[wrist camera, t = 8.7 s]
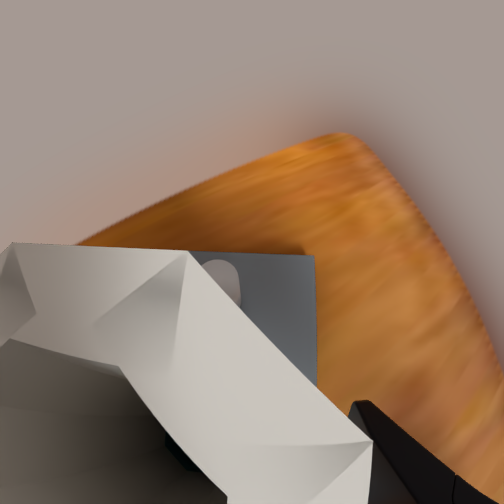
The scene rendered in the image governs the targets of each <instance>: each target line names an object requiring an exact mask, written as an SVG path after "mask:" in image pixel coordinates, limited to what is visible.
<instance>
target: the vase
mask: <svg viewBox="0 0 504 504" xmlns="http://www.w3.org/2000/svg"><path fill="white" fill-rule="evenodd" d="M372 447H373V440H371V439H370V438H369V437H368V436H367V435H366V434H364V433H363V432H362V431H361V430H360V429H359V428H358V427H357V426H356V425H355V424H354V423H353V422H352V421H351V420H350V419H348V418H347V417H346V416H345V415H344V414H343V413H342V412H341V411H340V410H339V409H338V408H337V407H336V406H335V405H334V404H333V403H332V402H331V401H330V400H329V399H328V398H327V397H326V396H325V395H324V394H323V393H322V392H320V391H319V390H318V389H317V388H316V387H315V386H314V385H313V384H312V383H311V382H310V381H309V380H308V379H307V378H306V377H305V376H304V375H303V374H302V373H301V372H300V371H299V370H298V369H297V368H296V367H295V366H294V365H293V364H292V363H291V362H290V361H289V360H288V358H287V357H286V356H285V355H284V354H283V353H282V352H281V351H280V350H279V349H278V348H277V347H276V346H275V345H274V344H273V343H272V342H271V341H270V340H269V339H268V338H267V337H266V336H265V335H264V334H263V333H262V332H261V331H260V329H259V328H258V327H257V326H256V325H255V324H254V323H253V322H252V321H251V320H250V319H249V318H248V317H247V316H246V315H245V314H244V313H243V311H242V310H241V309H240V308H239V307H238V306H237V305H236V304H235V303H234V302H233V301H232V300H231V299H230V297H229V296H228V295H227V294H226V293H225V292H224V291H223V290H222V289H221V288H220V287H219V285H218V284H217V283H216V282H215V281H214V280H213V279H212V278H211V277H210V275H209V274H208V273H207V272H206V271H205V270H204V269H203V268H202V267H201V265H200V264H199V263H198V262H197V261H196V260H195V259H194V258H193V256H192V255H191V254H190V253H189V252H188V251H182V250H160V249H139V248H117V247H96V246H74V245H53V244H32V243H12V244H10V245H9V247H7V248H6V249H5V250H4V251H3V252H2V253H1V254H0V504H368V496H369V487H370V476H371V463H372Z"/></svg>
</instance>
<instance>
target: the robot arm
mask: <svg viewBox="0 0 504 504" xmlns="http://www.w3.org/2000/svg"><path fill="white" fill-rule="evenodd" d="M348 419H350V420H351V421H352V422H353V423H354V424H355V425H356V426H357V427H358V428H359V429H360V430H361V431H362V432H363V433H364V434H366V435H367V436H368V437H369V438H370V439H371V440H373V447H372V463H371V476H370V487H369V496H368V504H499V503H497V502H495V501H493V500H492V499H490V498H489V497H487V496H486V495H484V494H482V493H481V492H479V491H478V490H477V489H475V488H474V487H473V486H471V485H470V484H469V483H467V482H466V481H465V480H463V479H462V478H461V477H460V476H458V475H455V472H453V471H452V470H451V469H450V468H448V467H447V466H446V465H445V464H444V463H442V462H441V461H440V460H439V459H438V458H436V457H435V456H434V455H433V454H431V453H430V452H429V451H428V450H427V449H425V448H424V447H423V446H422V445H421V444H420V443H418V442H417V441H416V440H415V439H414V438H412V437H411V436H410V435H409V434H408V433H407V432H405V431H404V430H403V429H402V428H401V427H400V426H398V425H397V424H396V423H395V422H394V421H393V420H391V419H390V418H389V417H388V416H387V415H386V414H384V413H383V412H382V411H381V410H380V409H379V408H378V407H376V406H375V405H374V404H373V403H372V402H371V401H369V400H359V401H354V402H353V404H352V406H351V409H350V412H349V415H348Z"/></svg>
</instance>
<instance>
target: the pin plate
mask: <svg viewBox="0 0 504 504" xmlns="http://www.w3.org/2000/svg"><path fill="white" fill-rule="evenodd" d="M188 252H189V253H190V254H191V255H192V256H193V258H194V259H195V260H196V261H197V262H198V263H199V264H200V265H201V267H202V268H203V269H204V270H205V271H206V272H207V273H208V274H209V275H210V277H211V278H212V279H213V280H214V281H215V282H216V283H217V284H218V285H219V287H220V288H221V289H222V290H223V291H224V292H225V293H226V294H227V295H228V296H229V297H230V299H231V300H232V301H233V302H234V303H235V304H236V305H237V306H238V307H239V308H240V309H241V310H242V311H243V313H244V314H245V315H246V316H247V317H248V318H249V319H250V320H251V321H252V322H253V323H254V324H255V325H256V326H257V327H258V328H259V329H260V331H261V332H262V333H263V334H264V335H265V336H266V337H267V338H268V339H269V340H270V341H271V342H272V343H273V344H274V345H275V346H276V347H277V348H278V349H279V350H280V351H281V352H282V353H283V354H284V355H285V356H286V357H287V358H288V360H289V361H290V362H291V363H292V364H293V365H294V366H295V367H296V368H297V369H298V370H299V371H300V372H301V373H302V374H303V375H304V376H305V377H306V378H307V379H308V380H309V381H310V382H311V383H312V384H313V385H314V386H315V387H316V388H317V325H316V287H315V263H314V256H310V255H284V254H258V253H232V252H207V251H188Z"/></svg>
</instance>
